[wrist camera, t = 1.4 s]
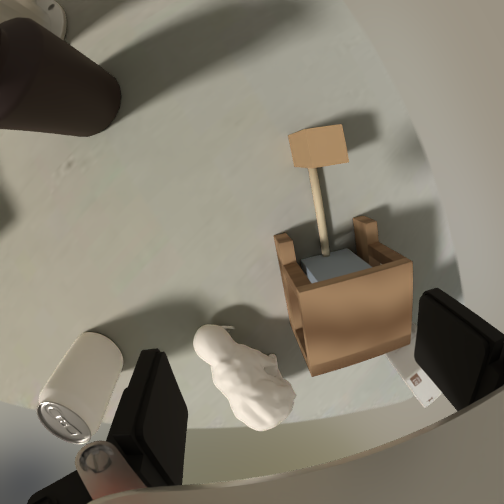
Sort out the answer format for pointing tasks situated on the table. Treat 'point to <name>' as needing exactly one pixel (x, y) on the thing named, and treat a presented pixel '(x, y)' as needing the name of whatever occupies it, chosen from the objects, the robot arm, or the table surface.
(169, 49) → the table surface
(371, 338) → the wooden crate frame
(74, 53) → the bottle
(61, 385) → the can
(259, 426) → the white lumpy piece
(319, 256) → the block
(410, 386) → the skincare box
